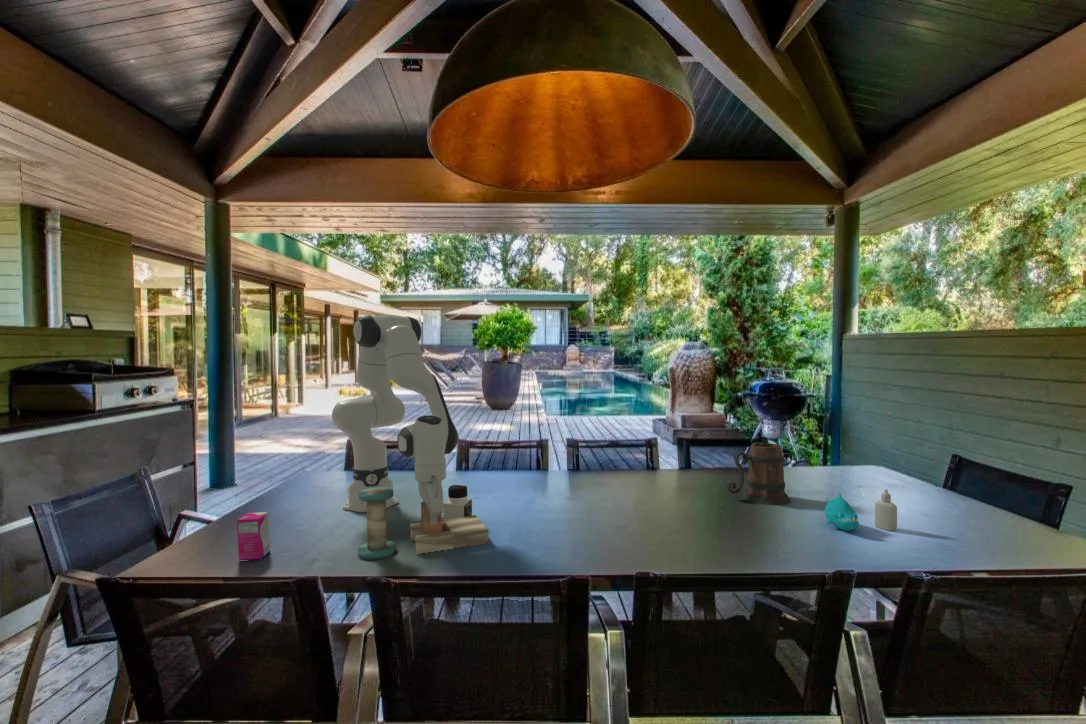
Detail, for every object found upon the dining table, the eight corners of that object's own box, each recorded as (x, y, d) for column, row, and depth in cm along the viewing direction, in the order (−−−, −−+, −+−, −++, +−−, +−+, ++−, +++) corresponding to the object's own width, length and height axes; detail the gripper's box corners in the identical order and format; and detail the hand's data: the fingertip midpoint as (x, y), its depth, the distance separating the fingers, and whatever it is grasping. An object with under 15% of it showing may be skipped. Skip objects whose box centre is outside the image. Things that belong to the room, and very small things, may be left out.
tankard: (773, 490, 195) (774, 440, 194) (801, 504, 178) (801, 448, 178) (716, 493, 192) (716, 441, 192) (739, 507, 175) (739, 450, 175)
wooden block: (421, 532, 146) (420, 502, 146) (438, 530, 148) (438, 500, 147) (424, 538, 141) (423, 507, 141) (441, 535, 143) (441, 504, 143)
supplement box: (248, 553, 138) (247, 512, 138) (270, 552, 139) (269, 511, 138) (237, 562, 132) (236, 519, 132) (260, 561, 133) (259, 518, 133)
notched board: (410, 537, 149) (410, 523, 149) (475, 527, 157) (475, 514, 157) (417, 554, 136) (417, 540, 136) (488, 543, 144) (487, 529, 144)
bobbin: (357, 548, 141) (356, 488, 140) (394, 543, 144) (393, 484, 144) (358, 562, 131) (357, 498, 131) (397, 556, 135) (396, 494, 135)
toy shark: (836, 536, 147) (836, 500, 147) (810, 516, 165) (811, 483, 165) (871, 537, 146) (872, 501, 146) (842, 517, 164) (842, 484, 164)
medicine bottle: (464, 526, 157) (464, 489, 157) (443, 525, 159) (442, 488, 159) (472, 519, 164) (471, 483, 164) (451, 518, 166) (451, 482, 166)
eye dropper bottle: (886, 525, 156) (887, 487, 156) (899, 531, 151) (899, 492, 150) (872, 525, 156) (873, 487, 156) (884, 531, 151) (884, 492, 150)
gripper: (448, 479, 136) (449, 530, 136) (435, 464, 155) (435, 508, 155) (425, 482, 133) (426, 533, 133) (414, 466, 152) (415, 511, 152)
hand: (431, 520), depth 144 cm, fingers closed on wooden block, 5 cm apart
